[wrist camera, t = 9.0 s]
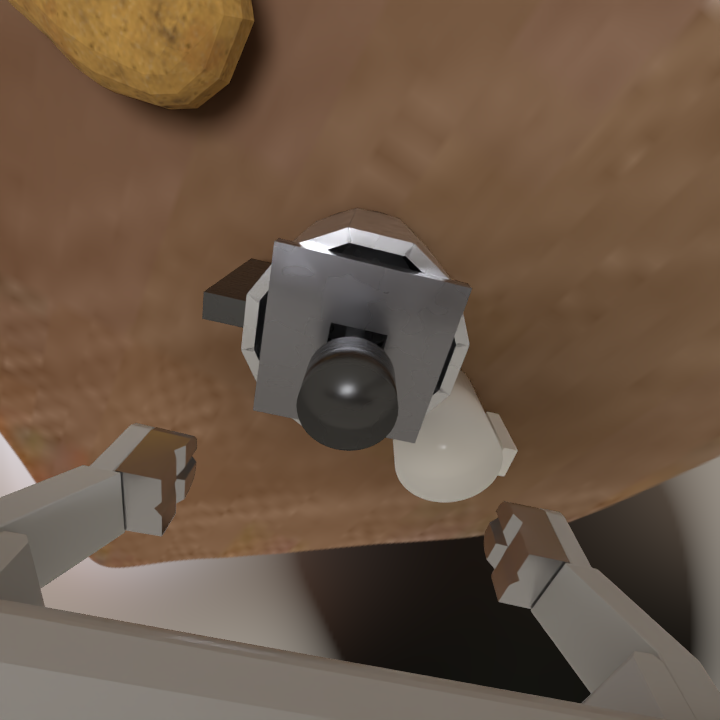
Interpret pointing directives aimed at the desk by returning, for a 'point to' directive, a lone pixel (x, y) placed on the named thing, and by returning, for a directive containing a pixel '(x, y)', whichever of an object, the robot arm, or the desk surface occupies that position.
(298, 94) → the desk surface
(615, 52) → the desk surface
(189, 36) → the potato
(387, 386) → the plunger
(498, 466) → the white ceramic cylinder
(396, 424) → the carafe
